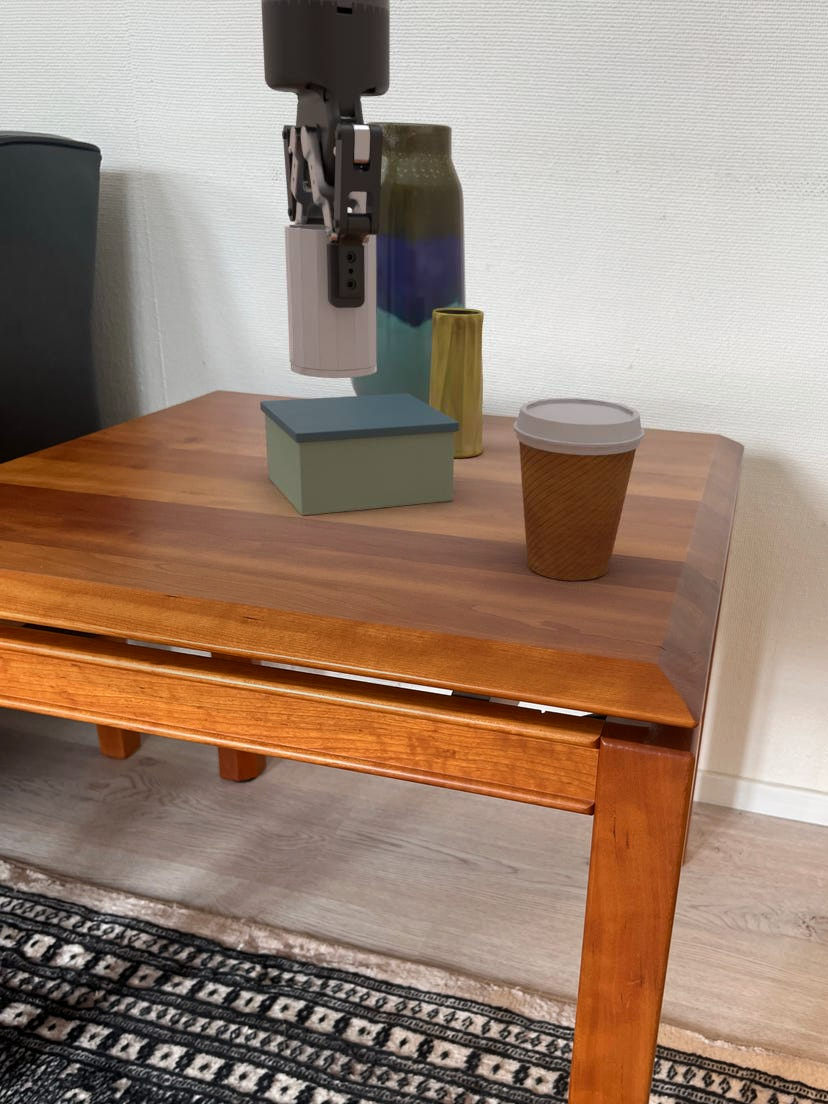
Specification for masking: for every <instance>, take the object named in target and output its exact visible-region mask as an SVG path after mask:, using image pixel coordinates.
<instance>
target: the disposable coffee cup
mask: <svg viewBox="0 0 828 1104" xmlns="http://www.w3.org/2000/svg"><path fill="white" fill-rule="evenodd" d="M512 425H513V426H512V427H513V430H514V432H515V437H516V439H517V441H518V445H519V446H518V447H519V456H520V457H519V460H520V473H521V476H520V477H521V488H522V493H521V494H522V506H523V508H522V509H523V520H524V533H525V534H524V535H525V549H526V560H527V561H526V564H527V567H528V568H529V569H530V570H531V571H533V572H534V573H536V574H539V575H541V576H544V577H546V578H550V579H554V580H563V581H585V580H593V579H597V578H600V577H602V576H605V574H607V573H608V572H609V569H610V564H611V559H612V556H613V552H614V549H615V542H616V540H617V534H618V532H619V531H618V530H619V525H620V522H621V517H622V513H623V508H624V503H625V500H626V496H627V495H626V494H627V490H628V485H629V482H630V477H631V473H632V469H633V465H634V461H635V456H636V455H635V454H636V451H637V448H638V447H639V446H640V444H641V440H642V439H644V437H645V433H646V432H645V429H644V428H643V427H642V422H641V414H640V413H639V411H638V410H637V409H635V408H634V407H631V406H629V405H626V404H623V403H619V402H613V401H607V400H604V399H603V400H602V399H593V398H583V397H552V398H551V397H550V398H543V399H541V398H540V399H534V400H530V401H527V402H525V403H523V404H522V405H521V407H520V410H519V412H518V416H517V419H516V420H515V421H514V422H513V424H512Z"/></svg>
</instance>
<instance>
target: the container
mask: <svg viewBox="0 0 828 1104" xmlns="http://www.w3.org/2000/svg"><path fill="white" fill-rule="evenodd" d="M259 402H260V403H259V405H260V411H261V412H262V413H264V426H265V444H266V462H267V463H266V465H267V478H268V479H269V480H270V482H272V484H273V485H274V486H275V487H276V488H277V489H278V491H279V492H281V494H282V495H283V496H284V497H285V498H286V499H287V500H288V501H289V503H290V504H291V505H292V506H293V507H294V508H295V510H297V512H298V513H299V514H300V515H301V516H302V517H303V516H312V515H321V514H322V515H324V514H332V513H342V512H352V511H361V510H372V509H382V508H392V507H402V506H403V507H404V506H410V505H412V506H413V505H422V504H431V503H432V504H433V503H442V502H452V501H453V498H454V465H455V464H454V463H455V462H454V461H455V458H454V432H455V431H459V422H457V421H455V420H454V419H452V418H450V417H449V416H447V415H445V414H443V413H442V412H440V411H438V410H436V409H435V408H433V407H431V406H429V405H428V404H426V403H424V402H422V401H421V400H419V399H417V398H415V397H414V396H412V395H410V394H408V393H404V394H386V395H368V396H356V395H351V396H334V397H331V396H330V397H313V398H295V399H280V400H278V399H277V400H261V401H259Z"/></svg>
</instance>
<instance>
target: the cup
mask: <svg viewBox="0 0 828 1104" xmlns="http://www.w3.org/2000/svg"><path fill="white" fill-rule="evenodd" d="M327 244H334V243H328V241H327V237H326V235H325V224H295V223H294V224H286V225H284V245H285V246H284V248H285V271H286V272H285V273H286V274H285V277H286V299H287V300H286V302H287V326H288V327H287V328H288V351H289V352H288V353H289V363H290V370H291V372H293V373H295V374H297V375H301V376H307V377H313V378H324V379H350V378H352V377H362V376H367V375H371V374H374V373H375V372H376V371H377V235H370V237H369V242H368V243H362V245H364V267H365V301H364V304H363V305H362V306H361V307H358V308H337V307H334V306H332V305H331V304H330V303H329V301H328V272H327Z"/></svg>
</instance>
